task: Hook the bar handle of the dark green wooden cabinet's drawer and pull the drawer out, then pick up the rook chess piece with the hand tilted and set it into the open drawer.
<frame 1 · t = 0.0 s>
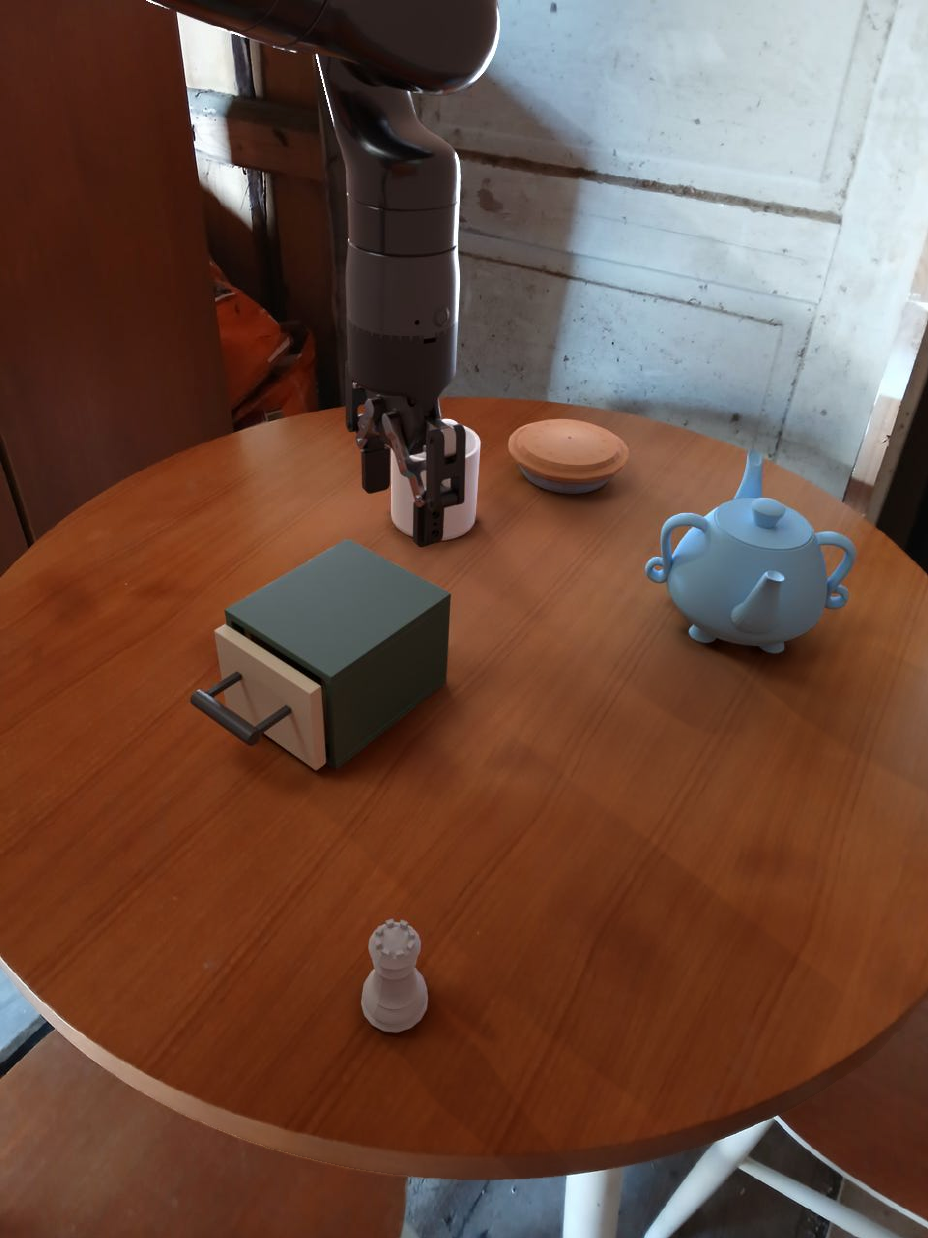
hand: (401, 515, 71), 20 cm above the table, tool pointing down, fingers open, 8 cm apart
drawer: (304, 674, 77), point 5 cm above the table, slide at 0.5 cm
rook chess piece: (394, 1005, 61), on the table
mug: (436, 514, 109), on the table
pie: (565, 473, 118), on the table
teapot: (733, 618, 96), on the table
cabinet: (344, 691, 84), on the table
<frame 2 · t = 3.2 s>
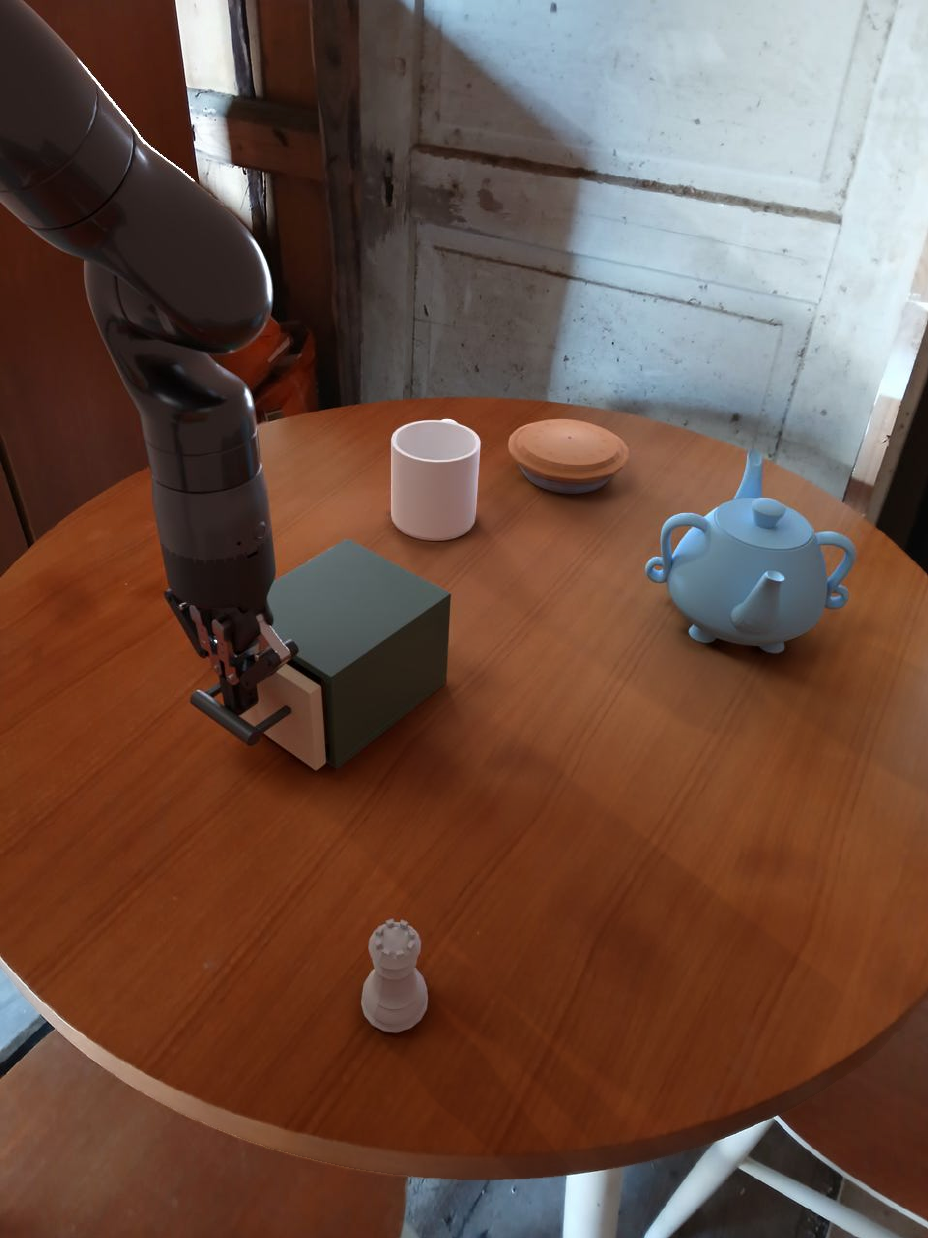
hand: (241, 706, 73), 6 cm above the table, tool pointing down, fingers closed
drawer: (303, 674, 77), point 5 cm above the table, slide at 0.5 cm, touching gripper
everything else where it was.
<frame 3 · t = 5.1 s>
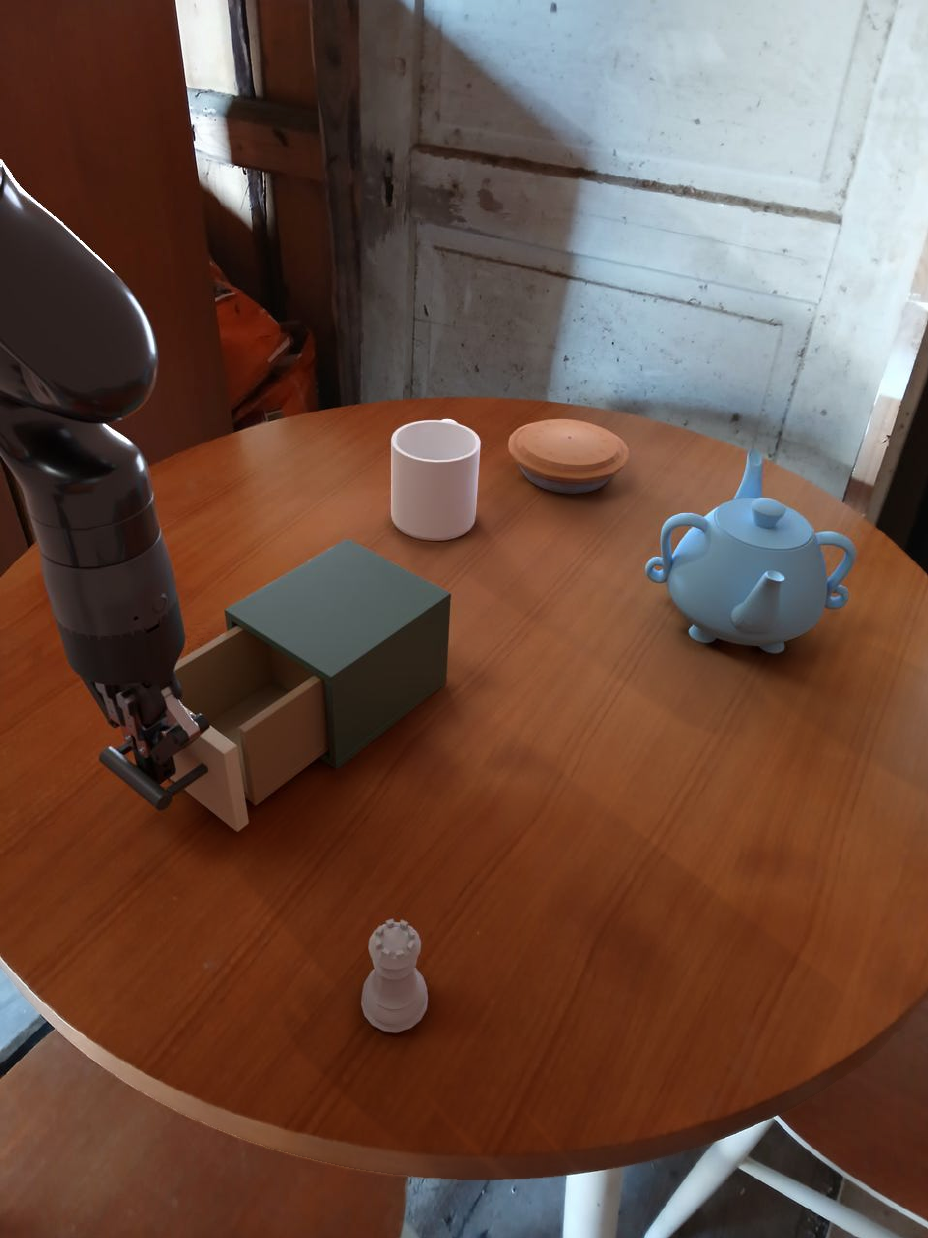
hand: (158, 776, 68), 5 cm above the table, tool pointing down, fingers closed
drawer: (227, 726, 72), point 5 cm above the table, slide at 8.8 cm
everything else where it was.
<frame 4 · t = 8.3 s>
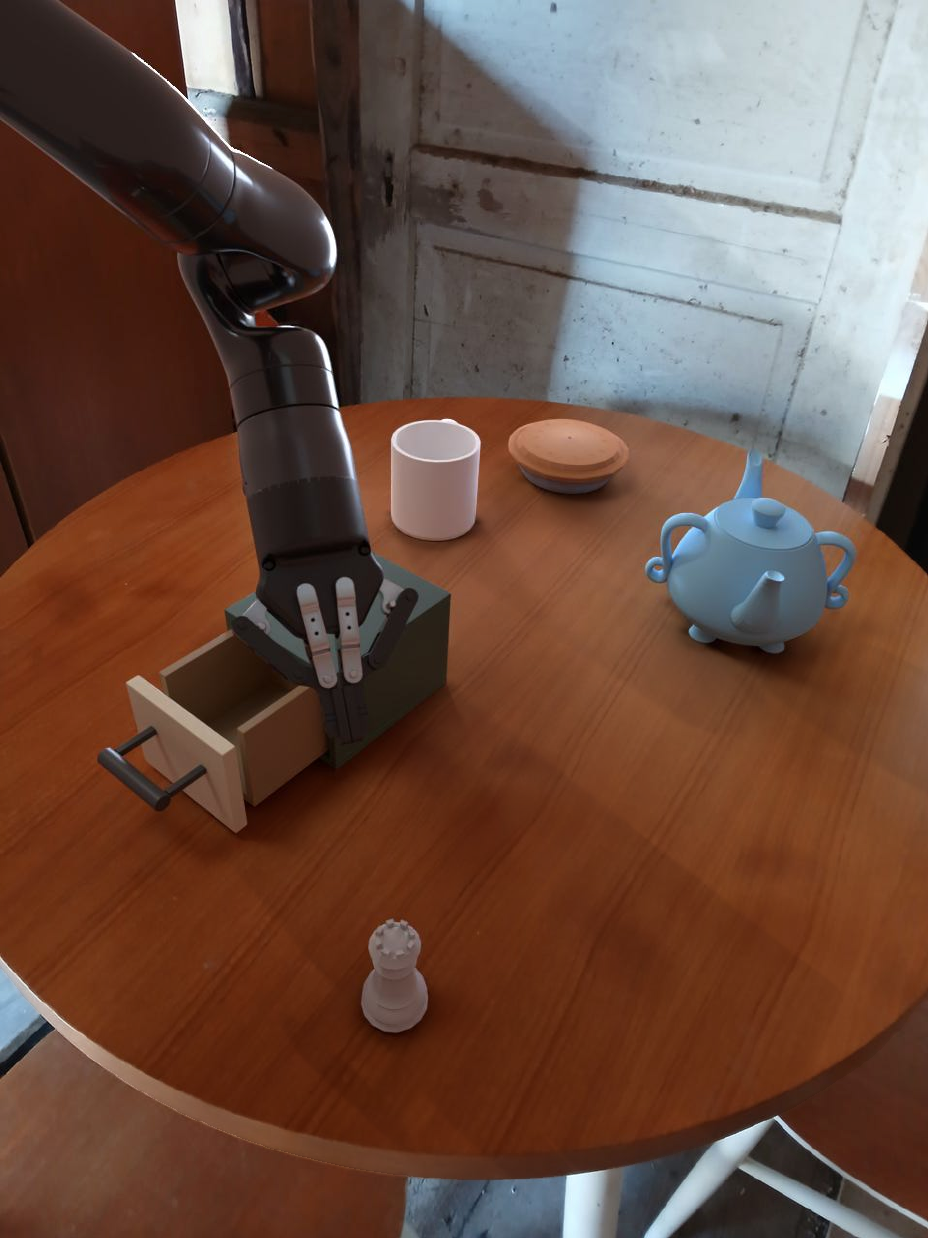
hand: (350, 742, 60), 14 cm above the table, tool tilted 45°, fingers closed
nothing on the table moved.
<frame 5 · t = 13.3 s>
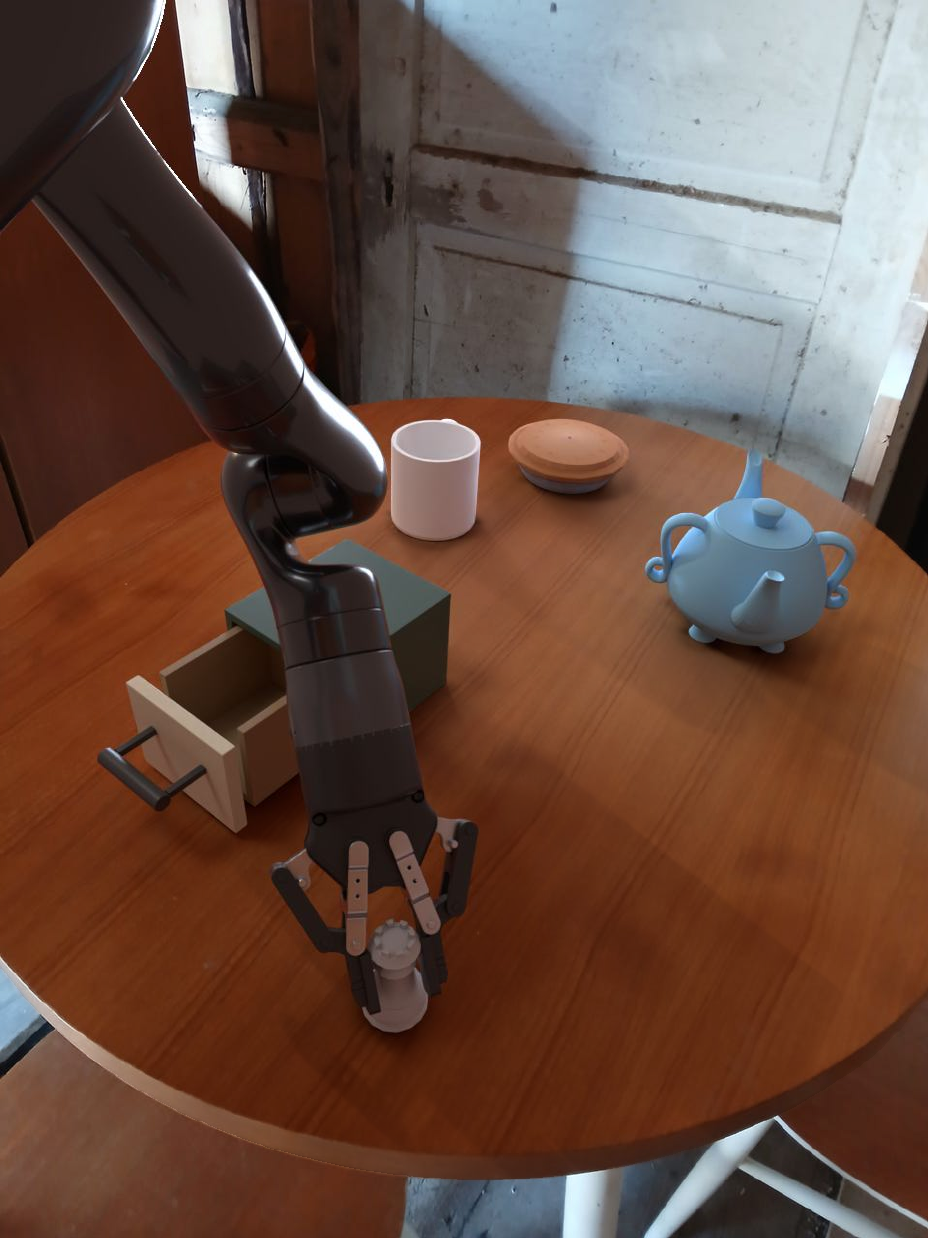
hand: (403, 1000, 57), 4 cm above the table, tool tilted 45°, fingers closed on rook chess piece, 3 cm apart
rook chess piece: (394, 1005, 61), on the table, touching gripper
everything else where it was.
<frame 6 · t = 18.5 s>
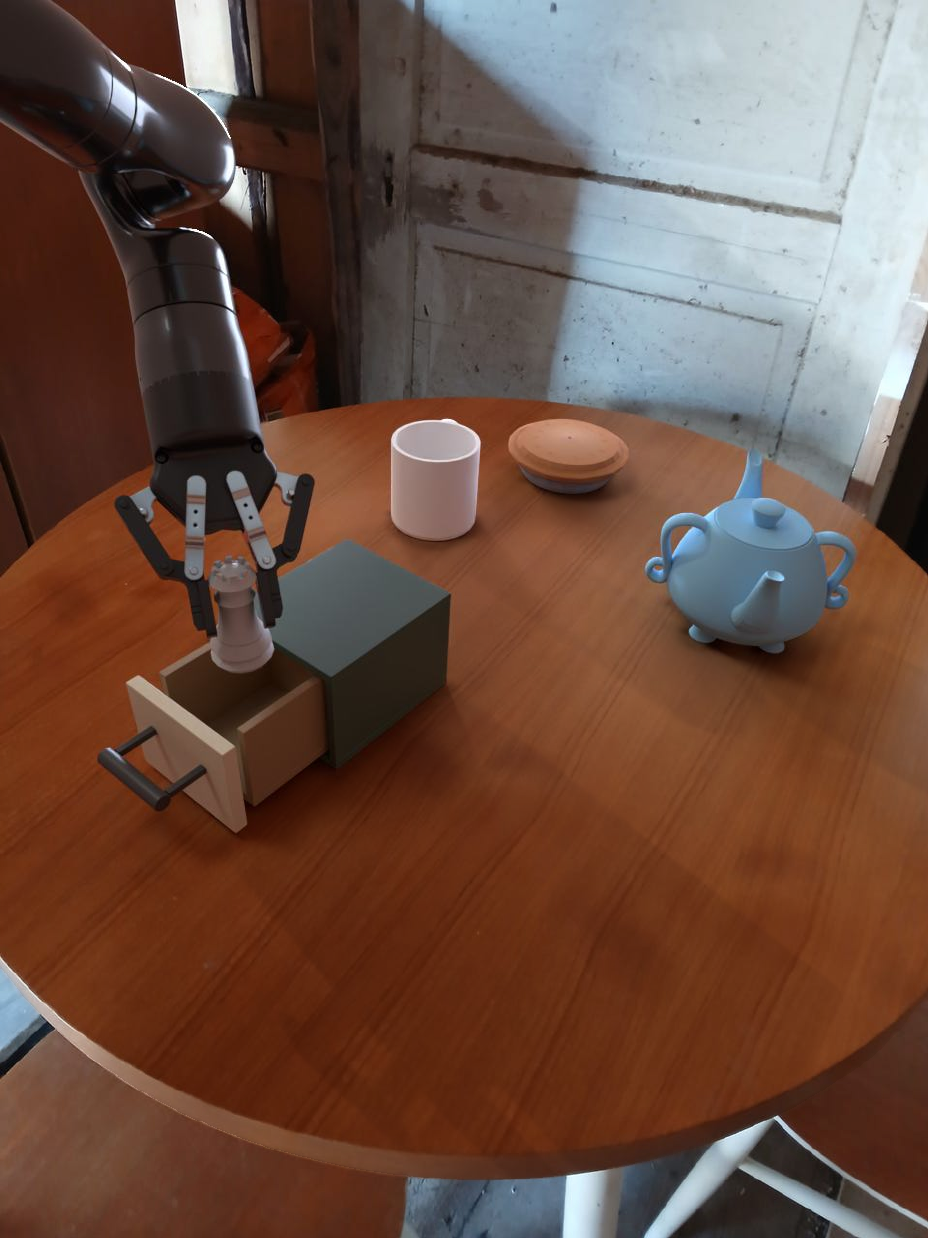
hand: (241, 630, 61), 18 cm above the table, tool tilted 45°, fingers closed on rook chess piece, 3 cm apart
rook chess piece: (243, 657, 65), point 14 cm above the table, touching gripper
everything else where it was.
when the fingers open (8 cm above the table, at t = 23.8 s): rook chess piece drops 2 cm, resting on drawer.
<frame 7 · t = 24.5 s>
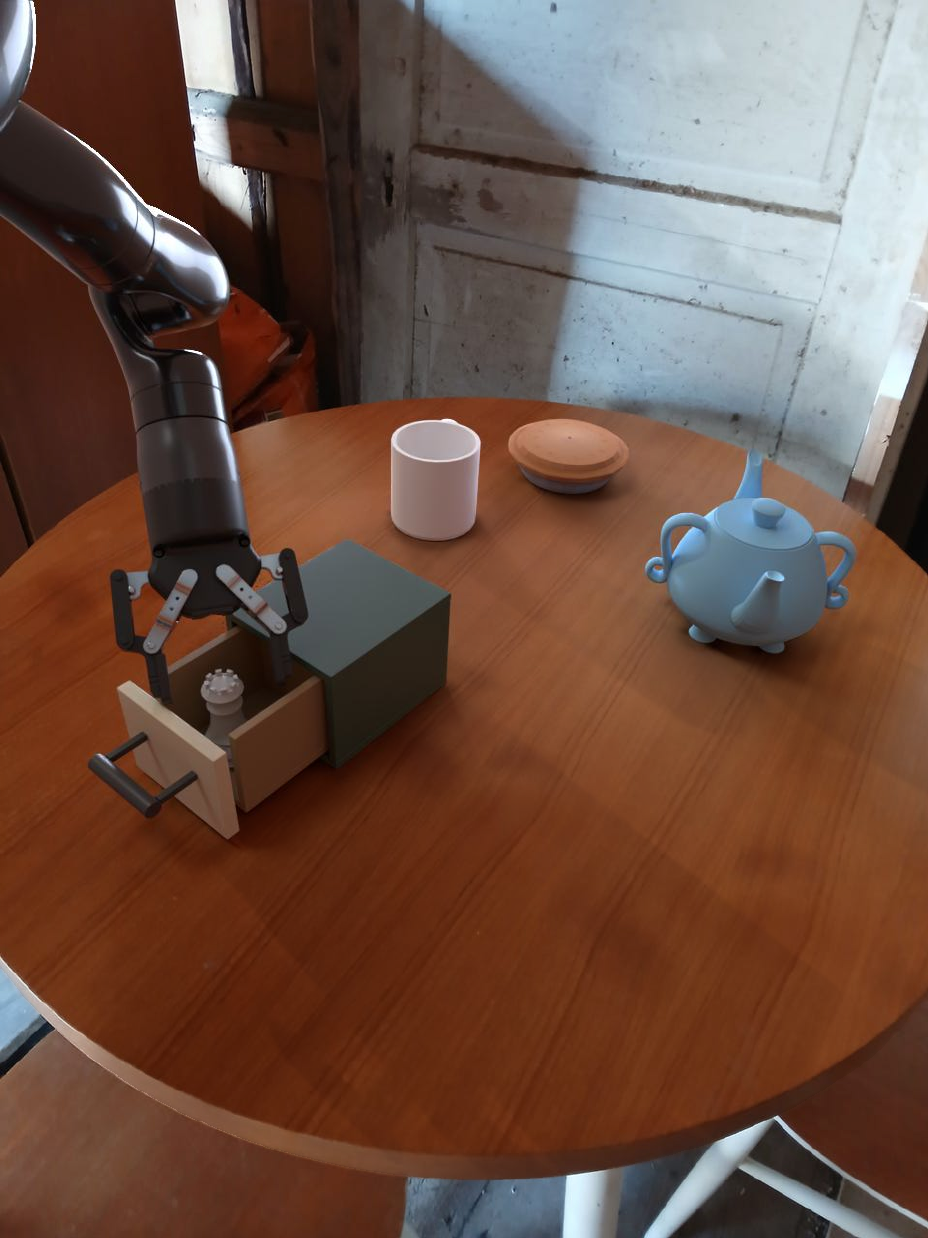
hand: (225, 694, 69), 10 cm above the table, tool tilted 45°, fingers open, 8 cm apart
drawer: (217, 732, 72), point 5 cm above the table, slide at 9.8 cm, touching gripper, rook chess piece
rook chess piece: (232, 752, 75), point 2 cm above the table, touching drawer
everything else where it was.
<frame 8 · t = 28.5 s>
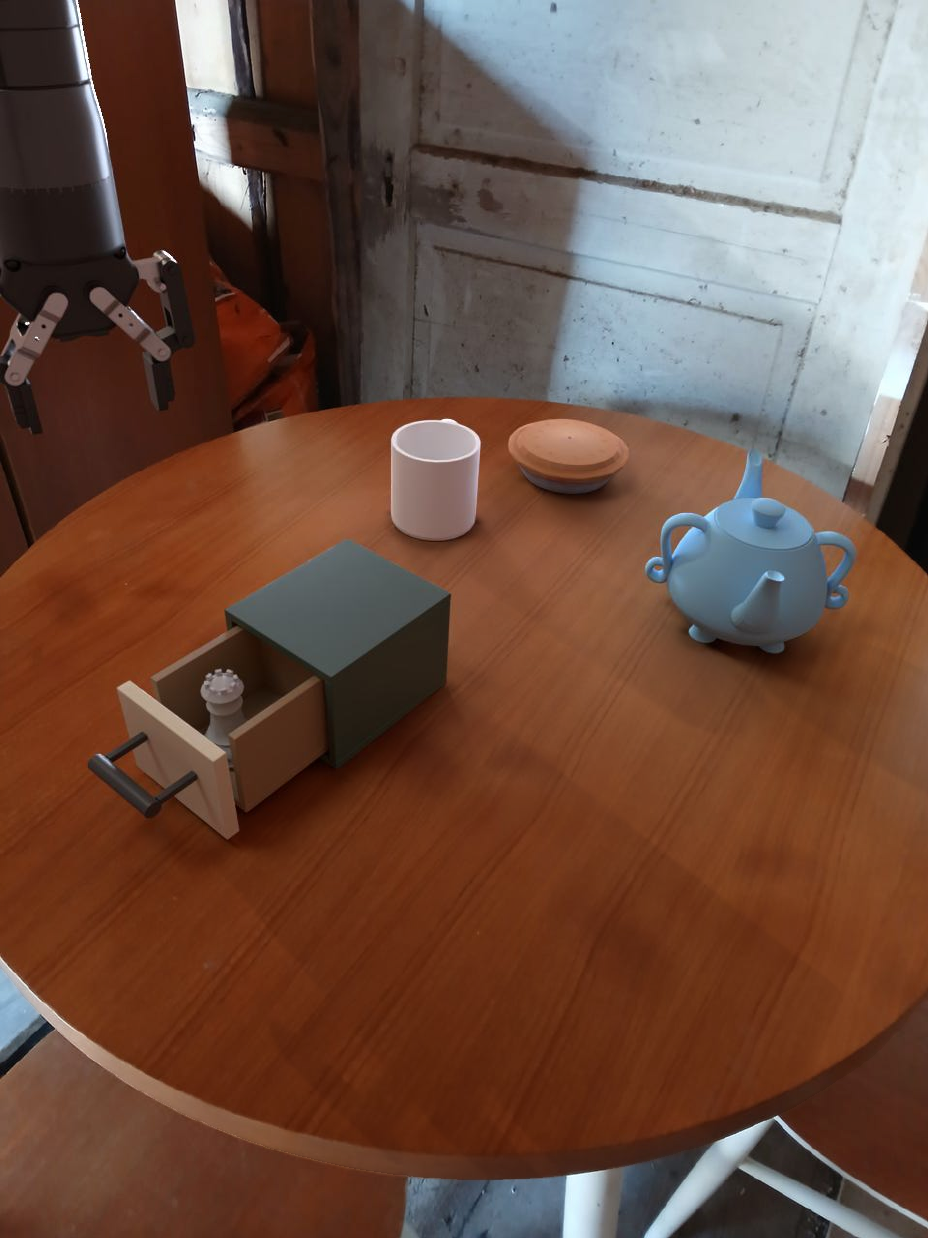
hand: (99, 418, 64), 28 cm above the table, tool pointing down, fingers open, 8 cm apart
drawer: (217, 732, 72), point 5 cm above the table, slide at 9.8 cm, touching rook chess piece
everything else where it was.
at the end: drawer slide at 9.8 cm; rook chess piece inside the target area in the drawer (1.1 cm from its centre), point 1.8 cm above the cabinet's base; the gripper is holding nothing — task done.
